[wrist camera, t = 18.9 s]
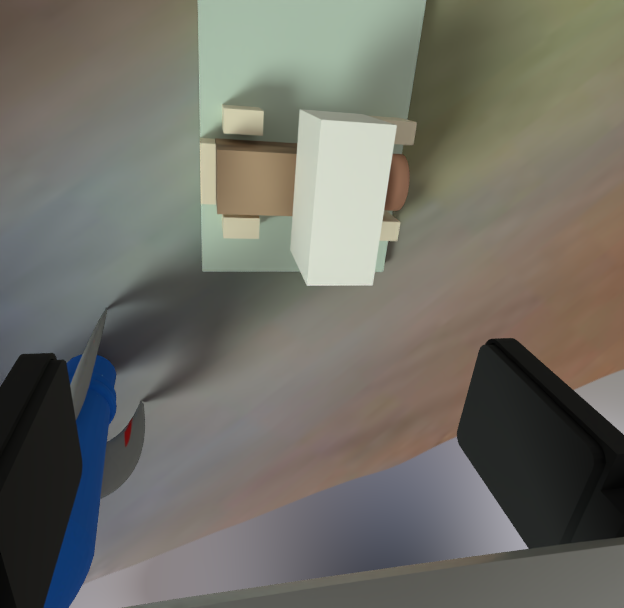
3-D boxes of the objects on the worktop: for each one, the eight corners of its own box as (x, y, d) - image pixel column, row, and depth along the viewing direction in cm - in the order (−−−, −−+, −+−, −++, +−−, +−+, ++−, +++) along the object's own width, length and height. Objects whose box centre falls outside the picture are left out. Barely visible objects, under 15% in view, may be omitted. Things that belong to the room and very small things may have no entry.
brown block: (215, 195, 35) (217, 214, 31) (215, 138, 34) (217, 149, 29) (382, 201, 38) (406, 219, 34) (390, 148, 36) (416, 160, 32)
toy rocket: (106, 298, 38) (-19, 611, 16) (194, 367, 43) (188, 687, 21) (15, 380, 40) (-210, 767, 18) (109, 439, 44) (20, 807, 22)
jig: (202, 265, 39) (202, 287, 35) (196, -114, 28) (195, -141, 25) (378, 266, 42) (395, 286, 38) (430, -74, 32) (461, -92, 28)
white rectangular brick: (290, 250, 33) (306, 285, 28) (299, 109, 29) (321, 119, 24) (346, 250, 34) (372, 285, 29) (362, 113, 30) (396, 125, 25)
